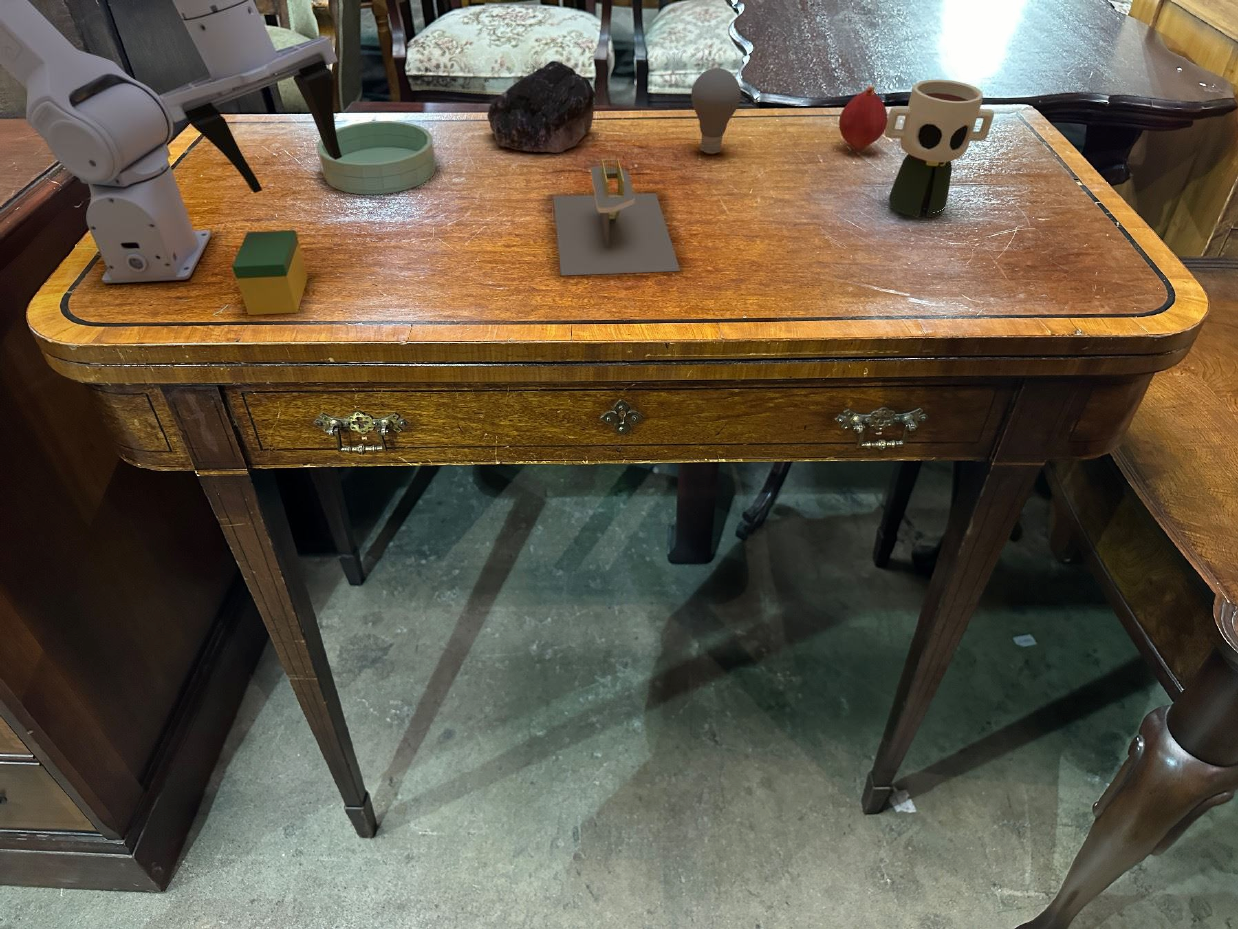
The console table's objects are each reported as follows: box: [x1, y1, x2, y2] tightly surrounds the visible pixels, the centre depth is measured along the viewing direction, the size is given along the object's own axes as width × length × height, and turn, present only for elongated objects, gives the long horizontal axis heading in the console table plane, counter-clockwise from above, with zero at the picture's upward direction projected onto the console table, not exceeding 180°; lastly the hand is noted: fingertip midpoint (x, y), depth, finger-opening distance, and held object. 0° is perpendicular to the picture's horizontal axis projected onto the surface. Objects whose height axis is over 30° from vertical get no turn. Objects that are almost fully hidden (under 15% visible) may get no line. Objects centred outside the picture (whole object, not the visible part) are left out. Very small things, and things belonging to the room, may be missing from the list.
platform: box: [552, 158, 681, 276], centre depth 86 cm, size 12×18×7 cm, turn 6°
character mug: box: [884, 79, 995, 218], centre depth 89 cm, size 11×7×13 cm, turn 87°
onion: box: [838, 85, 888, 152], centre depth 103 cm, size 6×6×8 cm
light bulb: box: [690, 67, 742, 155], centre depth 101 cm, size 6×6×10 cm
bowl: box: [316, 120, 437, 195], centre depth 97 cm, size 13×13×4 cm
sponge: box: [231, 229, 309, 316], centre depth 76 cm, size 6×4×5 cm
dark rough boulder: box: [486, 60, 595, 153], centre depth 104 cm, size 13×14×10 cm
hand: (296, 172), depth 74 cm, fingers open, 7 cm apart
